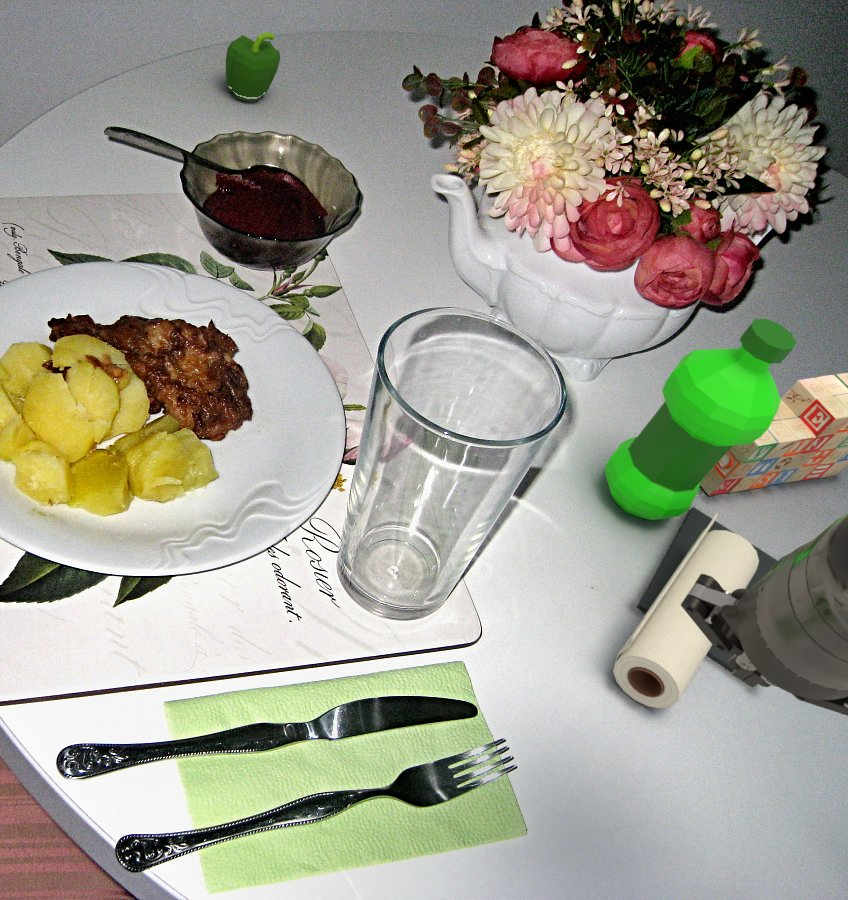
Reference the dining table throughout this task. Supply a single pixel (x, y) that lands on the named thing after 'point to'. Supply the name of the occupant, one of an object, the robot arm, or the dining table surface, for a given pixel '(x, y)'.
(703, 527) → the mat
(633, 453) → the plastic bottle
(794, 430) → the stack of blocks
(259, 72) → the bell pepper
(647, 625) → the paper towel roll
